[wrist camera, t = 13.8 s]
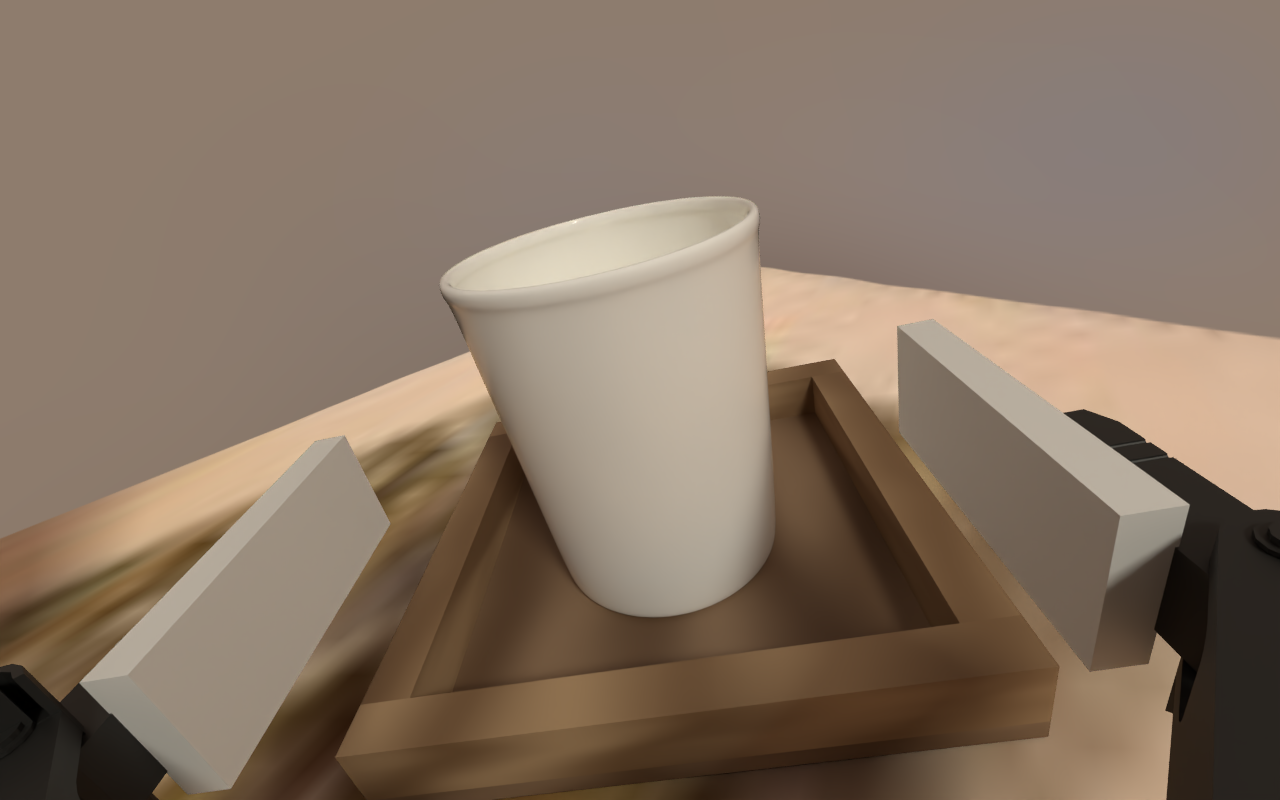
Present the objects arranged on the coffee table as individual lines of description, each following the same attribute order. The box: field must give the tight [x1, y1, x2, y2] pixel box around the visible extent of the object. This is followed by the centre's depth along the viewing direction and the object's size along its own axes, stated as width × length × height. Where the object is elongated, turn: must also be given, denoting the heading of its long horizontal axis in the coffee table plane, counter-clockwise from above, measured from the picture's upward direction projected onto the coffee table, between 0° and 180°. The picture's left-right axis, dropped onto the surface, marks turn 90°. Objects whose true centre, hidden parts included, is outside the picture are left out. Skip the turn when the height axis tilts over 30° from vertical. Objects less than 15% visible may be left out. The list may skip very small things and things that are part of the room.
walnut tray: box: [335, 359, 1059, 800], centre depth 23 cm, size 18×18×3 cm
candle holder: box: [440, 196, 776, 617], centre depth 20 cm, size 10×10×12 cm
